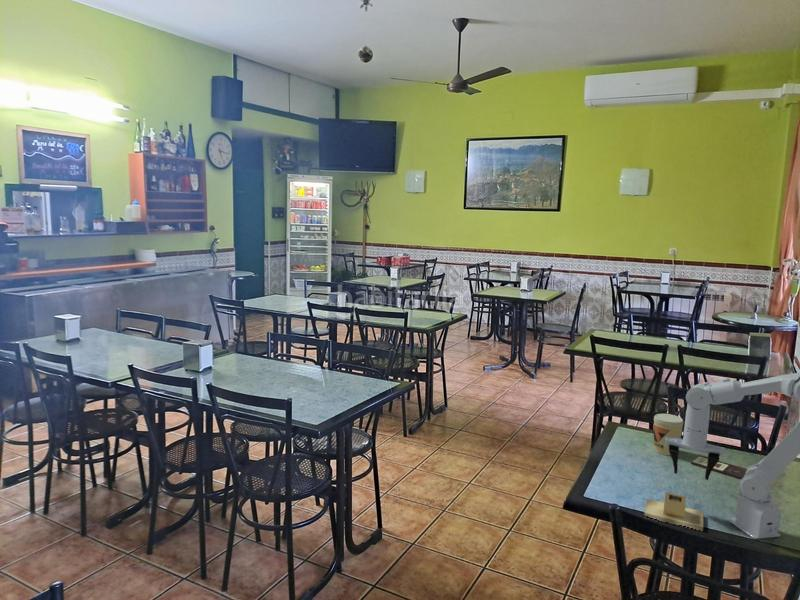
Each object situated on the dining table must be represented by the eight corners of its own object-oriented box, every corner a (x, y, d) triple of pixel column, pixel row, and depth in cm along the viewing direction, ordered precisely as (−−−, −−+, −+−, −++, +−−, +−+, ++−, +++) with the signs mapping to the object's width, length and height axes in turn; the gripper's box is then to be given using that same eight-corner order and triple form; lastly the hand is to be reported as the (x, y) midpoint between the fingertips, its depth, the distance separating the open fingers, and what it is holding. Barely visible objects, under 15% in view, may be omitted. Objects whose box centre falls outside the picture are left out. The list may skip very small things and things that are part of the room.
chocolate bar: (753, 481, 178) (691, 462, 190) (752, 484, 178) (690, 465, 190) (761, 473, 184) (700, 455, 196) (760, 476, 184) (700, 458, 197)
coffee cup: (645, 446, 204) (648, 413, 202) (668, 445, 206) (672, 412, 204) (661, 457, 195) (665, 423, 193) (686, 456, 197) (690, 422, 195)
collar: (684, 510, 157) (685, 496, 156) (683, 518, 153) (685, 504, 152) (664, 505, 159) (665, 492, 159) (663, 513, 155) (664, 499, 154)
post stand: (702, 515, 157) (704, 500, 156) (702, 531, 149) (704, 515, 148) (646, 502, 163) (648, 487, 163) (644, 517, 155) (645, 501, 155)
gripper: (725, 428, 159) (719, 475, 161) (667, 419, 165) (662, 464, 167) (727, 437, 152) (721, 485, 154) (666, 426, 159) (661, 473, 161)
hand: (690, 475), depth 160 cm, fingers open, 7 cm apart
